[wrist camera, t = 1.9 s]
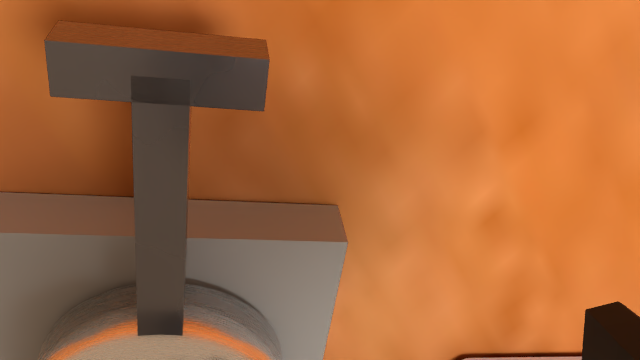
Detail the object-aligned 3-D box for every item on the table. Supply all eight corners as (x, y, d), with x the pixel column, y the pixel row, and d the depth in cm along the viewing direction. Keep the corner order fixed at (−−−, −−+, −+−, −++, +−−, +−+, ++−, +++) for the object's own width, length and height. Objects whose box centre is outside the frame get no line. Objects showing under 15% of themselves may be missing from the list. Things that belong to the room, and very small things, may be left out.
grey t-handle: (270, 437, 23) (280, 562, 19) (51, 445, 21) (15, 582, 18) (337, 34, 14) (377, 117, 11) (-20, -1, 13) (-118, 83, 9)
